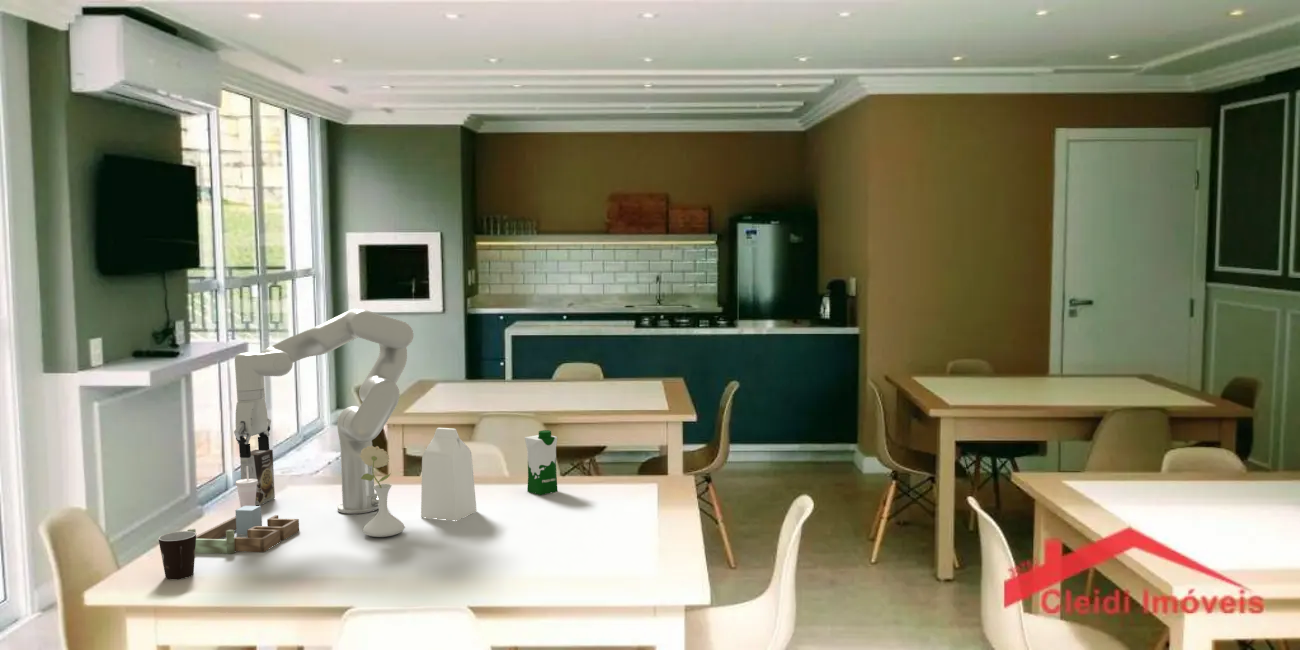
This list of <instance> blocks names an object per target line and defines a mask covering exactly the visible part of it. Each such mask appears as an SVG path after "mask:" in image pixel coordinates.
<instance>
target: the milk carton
mask: <svg viewBox="0 0 1300 650" xmlns="http://www.w3.org/2000/svg"><path fill="white" fill-rule="evenodd" d="M558 439H559V438H558V436H555V435H552V430H549V429H548V430H545V429H544V430H543V429H542V430H539V431H538V434H536V435H530V436H524V440H525V446H526V451H527V489H526V491H527V493H531V494H534V495H538V496H544V495H549V494H551V493H552V494H553V493H556V492H557V493H558V479H557V478H558V477H557V476H558V475H557V446H558V445H557V444H558Z"/></svg>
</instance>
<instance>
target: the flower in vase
mask: <svg viewBox="0 0 1300 650" xmlns="http://www.w3.org/2000/svg"><path fill="white" fill-rule="evenodd" d="M360 458H361V459H362V461H364V463H365V464H366V465H368V466H373V467H372V474H373V475H370V474H367V473H366V474H364V475H363V476H362V477H361V479H364V480H368V481H372V480H373V478H374V481H376V483H377V484H376V485H375V484H374V486H373V488H374V492H377V495H378V500H379V509H378V511H377V513H376V515H375V516H373V517H372V518H371V519H370V520H369V521H368V522H367V523H366V524H365V525H364V527H363V529H362V531H363V534H364V535H366V536H369V537H374V538H384V537H392V536H396V535H398V534H401V533H402V532H403V531H405V530H404V529H405V528H406V526H405V524H404V523H403V522H402V521H401V520H400V519H398V518H397V517H396V516H394V515H393V514H391V513H390V511H389V509H388V494H389V493H390V492H389V491H390V489H391V488H392V485H391V484H389V483H380V482H383V481H385V480H387V479H388V478H389V477H390V475H391V473H389V474H387V475H384V476H382V477H381V478H380V479H379V480H378V479H377V478H376V476H375V474H374V472H375V471H374V472H373V470H374V468H378V469H380V468H381V467H382V468H383V467H384V466H388V462H389V460H390V455H388V452H387V451H386V450H385V449H384V448H380V447H379V446H378V445H376V446H373V445H372V446H371V447H369V446H367V448H363V450H361V455H360Z"/></svg>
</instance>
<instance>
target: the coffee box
mask: <svg viewBox="0 0 1300 650" xmlns="http://www.w3.org/2000/svg"><path fill="white" fill-rule="evenodd" d="M273 453H274V451H273V449H269V450H268V451H260V450H259V449H253V450H251V457H250V458H240V457H239V459H240V460H239V461H240V463H239V464H240V480H241V479H247V472H246V466H248V473H249V479H257V480H258V483H257V489H256V501H255V506H256V505H259V506H262V505H264V504H266V503H268V502H267V501H269V500H271V501H273V500H275V499H276V496H275V495H276V493H275V477H274V476H275V471H274V454H273ZM274 498H275V499H274ZM272 499H273V500H272ZM265 502H266V503H265ZM269 502H270V501H269ZM263 503H264V504H263ZM261 504H262V505H261Z"/></svg>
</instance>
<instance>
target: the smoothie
mask: <svg viewBox="0 0 1300 650" xmlns="http://www.w3.org/2000/svg"><path fill="white" fill-rule="evenodd" d="M246 472H247V479H241V478H240V479H238V480H236V481H235V486H236V489H237V494H238V498H239V499H238V500H239V505H240V508H241V507H243V506H256V505H255V501H256V489H257V483H258V480H257V479H249V473H248V466H246Z"/></svg>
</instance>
